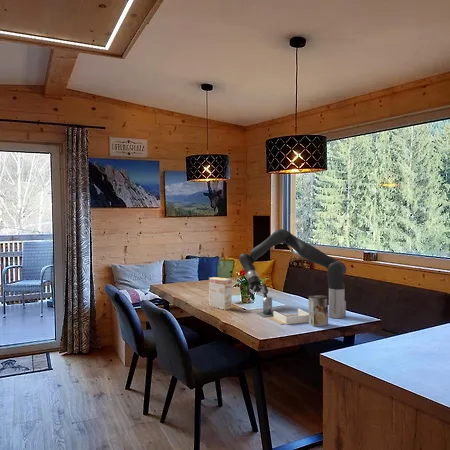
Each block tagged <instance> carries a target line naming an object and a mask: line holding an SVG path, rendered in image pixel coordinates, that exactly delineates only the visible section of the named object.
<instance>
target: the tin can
mask: <svg viewBox="0 0 450 450" xmlns="http://www.w3.org/2000/svg"><path fill="white" fill-rule="evenodd" d="M262 312H263V314H264V315H271V314H272V312H273V298H272V297H270V296H267V297H264V296H263V297H262Z"/></svg>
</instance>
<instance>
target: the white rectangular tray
mask: <svg viewBox="0 0 450 450" xmlns="http://www.w3.org/2000/svg"><path fill="white" fill-rule="evenodd" d="M273 313H274V316H272V317H268V319H270V320H272V321H274V322H276V323H278V324H280V325H293V324H300V323H302V324H303V323H309V311H308V312H307V311H305V310H303V309H301V308H297V313H293V314H281V313H279V312H277V311H275V310H273Z"/></svg>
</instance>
